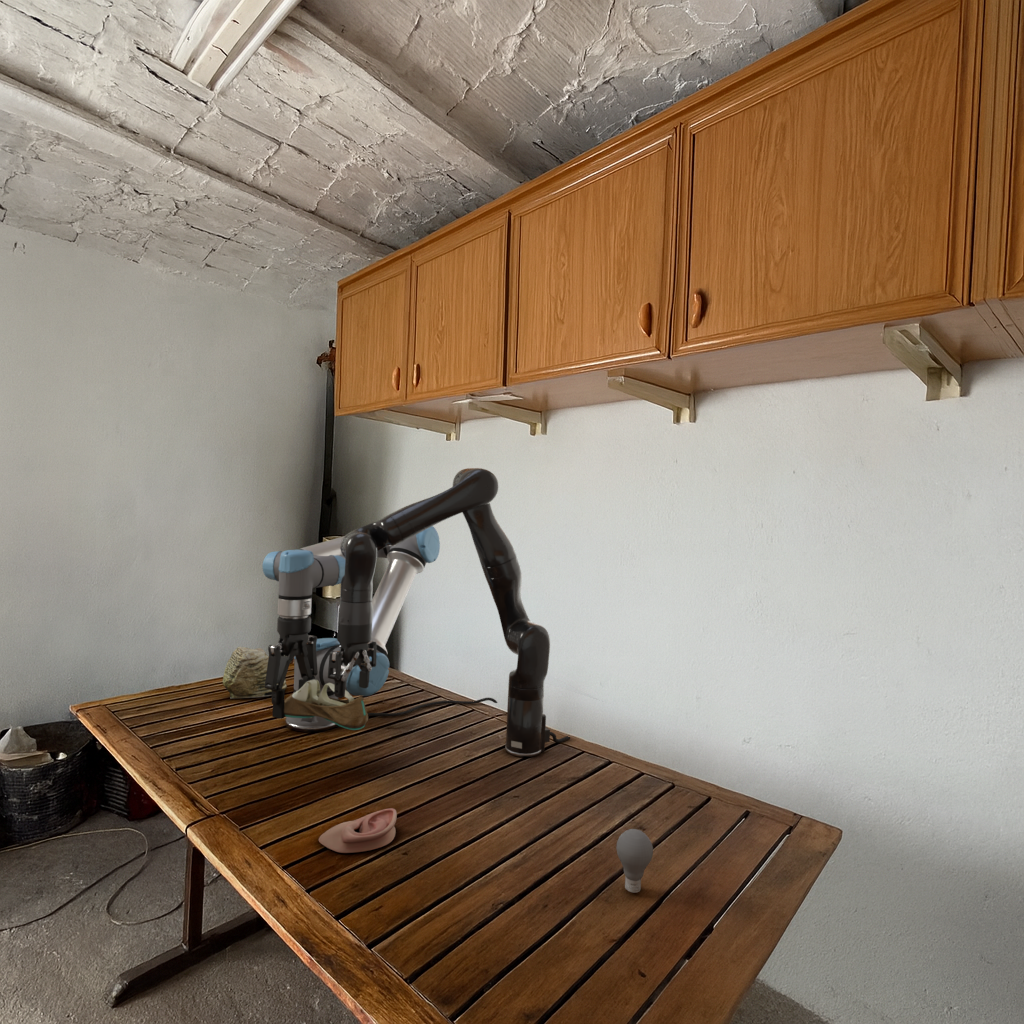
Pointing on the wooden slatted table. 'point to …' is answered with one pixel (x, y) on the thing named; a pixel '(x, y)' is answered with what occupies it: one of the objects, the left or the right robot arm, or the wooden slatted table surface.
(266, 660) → the fossil
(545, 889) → the wooden slatted table surface
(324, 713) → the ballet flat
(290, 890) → the wooden slatted table surface
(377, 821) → the anatomical model
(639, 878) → the light bulb
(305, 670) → the left robot arm
